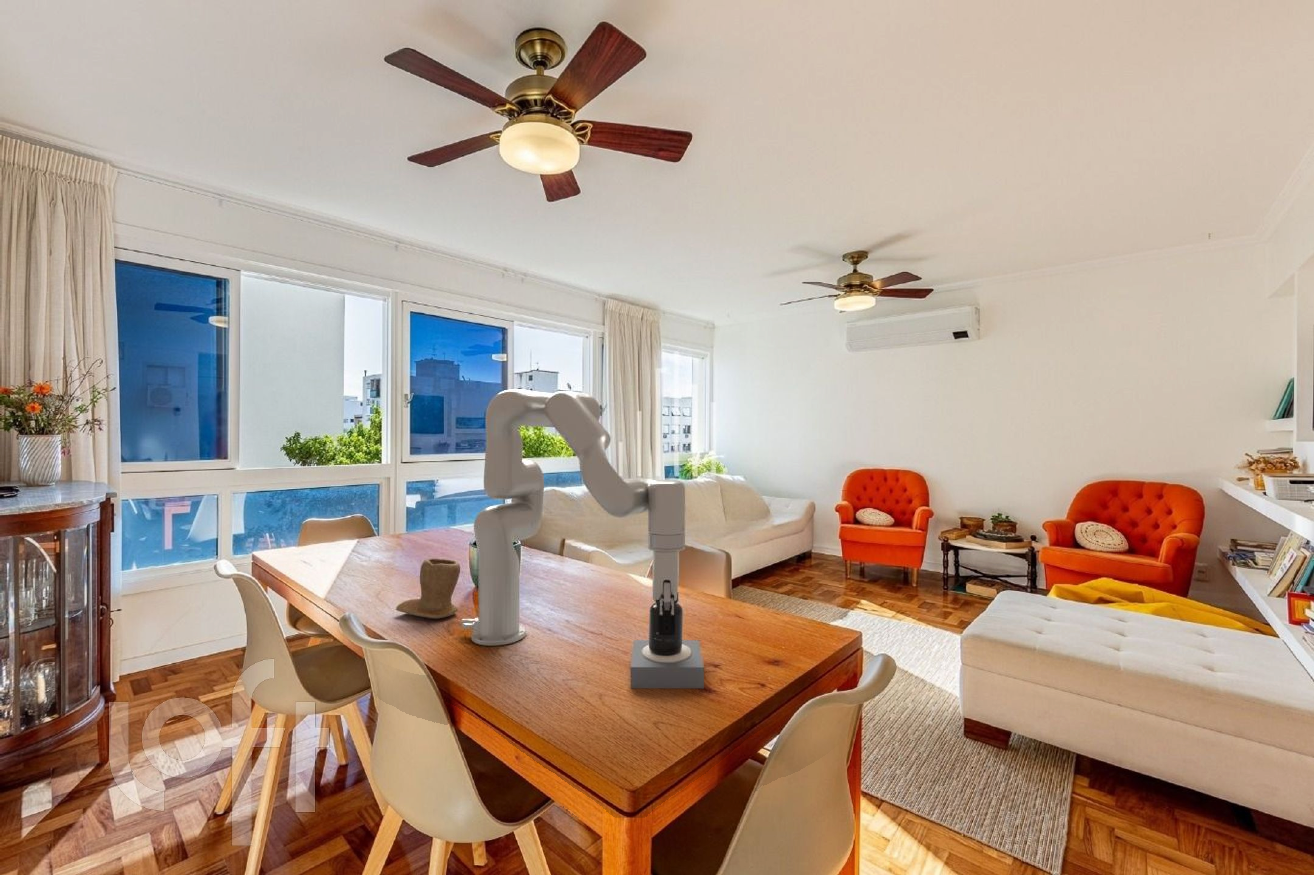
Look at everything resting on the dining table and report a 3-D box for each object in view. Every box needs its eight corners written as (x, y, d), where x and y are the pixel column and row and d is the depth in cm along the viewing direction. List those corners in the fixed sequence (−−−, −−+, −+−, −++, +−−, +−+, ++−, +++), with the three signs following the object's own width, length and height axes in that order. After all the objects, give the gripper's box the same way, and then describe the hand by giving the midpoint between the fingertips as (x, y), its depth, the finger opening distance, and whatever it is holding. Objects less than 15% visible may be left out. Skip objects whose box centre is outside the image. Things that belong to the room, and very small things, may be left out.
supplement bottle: (658, 659, 107) (658, 598, 107) (643, 647, 113) (643, 589, 113) (688, 653, 110) (689, 593, 110) (672, 641, 116) (672, 585, 116)
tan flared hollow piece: (469, 612, 150) (469, 557, 150) (434, 625, 139) (434, 566, 139) (430, 604, 157) (430, 552, 157) (394, 616, 146) (394, 560, 146)
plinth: (630, 688, 104) (630, 665, 104) (633, 658, 118) (633, 638, 118) (703, 688, 104) (703, 665, 104) (698, 658, 118) (698, 638, 118)
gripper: (648, 533, 120) (648, 613, 120) (647, 549, 102) (647, 643, 102) (683, 533, 120) (682, 613, 120) (687, 550, 102) (687, 643, 102)
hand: (666, 626), depth 111 cm, fingers open, 8 cm apart
